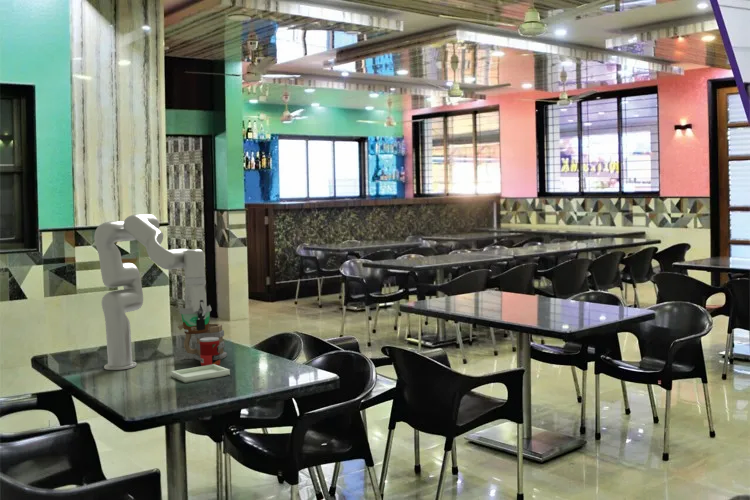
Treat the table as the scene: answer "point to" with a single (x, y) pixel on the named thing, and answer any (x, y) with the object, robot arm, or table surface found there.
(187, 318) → the food container
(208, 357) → the canned food
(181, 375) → the tray
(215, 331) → the tankard
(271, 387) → the table surface
